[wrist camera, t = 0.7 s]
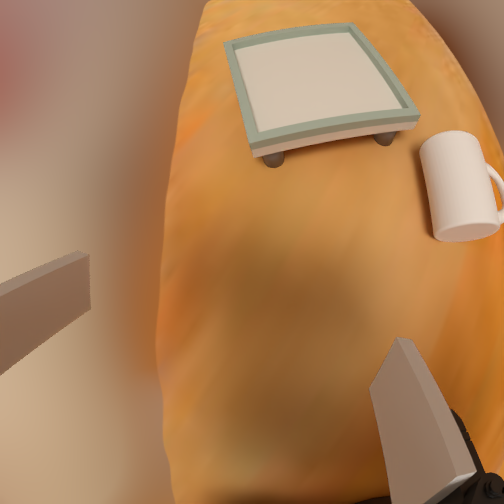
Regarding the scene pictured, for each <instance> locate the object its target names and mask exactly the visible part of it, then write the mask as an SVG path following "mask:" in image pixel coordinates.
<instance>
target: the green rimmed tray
mask: <svg viewBox="0 0 504 504" xmlns="http://www.w3.org/2000/svg"><path fill="white" fill-rule="evenodd" d="M223 44H224V48H225V51H226V55H227V59H228V63H229V66H230V70H231V74H232V78H233V82H234V86H235V90H236V93H237V97H238V101H239V105H240V109H241V113H242V117H243V121H244V125H245V129H246V133H247V138H248V142H249V145H250V148H251V151H252V154H253V156H254V158H256V157H260V156H263V160H264V163H265V164H266V165H267V166H268V167H271V168H276V167H279V166H281V165H282V164H283V162H284V153H283V151H285V150H289V149H294V148H299V147H303V146H308V145H313V144H318V143H323V142H328V141H334V140H339V139H345V138H351V137H357V136H363V135H370V134H374V139H375V141H376V142H377V143H378V144H380V145H382V146H389V145H390V144H391V143H392V141H393V139H394V136H395V134H396V132H397V131H400V130H409V129H414V127H415V125H416V123H417V121H418V119H419V117H420V115H421V114H420V113H419V111H418V109H417V108H416V106H415V104H414V103H413V101H412V100H411V98H410V96H409V95H408V93H407V92H406V90H405V89H404V87H403V86H402V84H401V83H400V81H399V80H398V78H397V77H396V75H395V74H394V73H393V71H392V70H391V69H390V67H389V66H388V64H387V63H386V62H385V60H384V59H383V58H382V57H381V55H380V54H379V53H378V51H377V50H376V49H375V48H374V46H373V45H372V44H371V43H370V42H369V40H368V39H367V38H366V37H365V36H364V35H363V33H362V32H361V31H360V30H359V29H358V28H357V27H356V26H355V24H354V23H333V24H321V25H311V26H302V27H295V28H288V29H282V30H276V31H270V32H265V33H260V34H256V35H251V36H247V37H242V38H238V39H234V40H231V41H227V42H223Z"/></svg>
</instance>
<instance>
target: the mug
mask: <svg viewBox="0 0 504 504" xmlns="http://www.w3.org/2000/svg"><path fill="white" fill-rule="evenodd" d="M419 155H420V159H421V164H422V168H423V173H424V178H425V182H426V188H427V193H428V199H429V205H430V211H431V218H432V226H433V234H434V237H435V238H436V239H437V240H439V241H444V242H464V241H471V240H477V239H481V238H484V237H487V236H490V235H492V234H494V233H495V232H497V231H498V230H499V228H500V224H502V223H504V182H503V180H502V179H501V177H500V176H499V174H498V173H497V172H496V171H495V170H494V169H493V168H492V167H491V166H490V165H489V164H487V163H485V160H484V156H483V153H482V150H481V147H480V144H479V142H478V140H477V138H476V137H475V136H473V135H472V134H470V133H468V132H464V131H446V132H442V133H439V134H436V135H434V136H432V137H430V138H429V139H427V140H426V141H425V142H424V143H423V144H422V146H421V148H420V151H419ZM490 177H491V178H492V179H493V181H494V182H495V184H496V186H497V188H498V190H499V193H500V197H501V201H502V209H501V210H500V211H497V206H496V202H495V197H494V193H493V189H492V185H491V181H490Z"/></svg>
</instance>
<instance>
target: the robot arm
mask: <svg viewBox="0 0 504 504" xmlns="http://www.w3.org/2000/svg"><path fill="white" fill-rule="evenodd" d="M89 277H90V275H89V254H86V253H83V252H80V251H75V252H73V253H70V254H68V255H65V256H63V257H61V258H58V259H56V260H53V261H51V262H49V263H46V264H44V265H41V266H39V267H37V268H34V269H32V270H30V271H28V272H25V273H23V274H21V275H19V276H16V277H14V278H12V279H10V280H8V281H6V282H4V283H1V284H0V375H2V374H3V373H4V372H5V371H7V370H8V369H9V368H11V367H12V366H13V365H14V364H16V363H17V362H18V361H20V360H21V359H22V358H24V357H25V356H26V355H28V354H29V353H30V352H31V351H33V350H34V349H36V348H37V347H38V346H39V345H41V344H42V343H44V342H45V341H46V340H48V339H49V338H50V337H52V336H53V335H54V334H56V333H57V332H59V331H60V330H61V329H63V328H64V327H66V326H67V325H68V324H70V323H71V322H73V321H74V320H76V319H77V318H79V317H80V316H81V315H83V314H84V313H85V312H87V311H89V310H90V309H91V304H90V278H89ZM369 391H370V395H371V399H372V403H373V408H374V412H375V416H376V421H377V425H378V430H379V434H380V439H381V444H382V449H383V454H384V459H385V465H386V470H387V476H388V482H389V488H390V495H391V497H381V498H375V499H370V500H366V501H363V502H359V503H356V504H504V481H503V479H502V478H501V477H500V476H499V475H497V474H495V473H485V471H484V469H483V466H482V464H481V461H480V459H479V457H478V454H477V452H476V450H475V447H474V445H473V443H472V441H470V439H471V438H470V436H469V434H468V432H466V428H465V426H464V424H463V422H462V419H461V418H460V417H459V416H458V415H457V414H456V413H455V412H454V411H453V409H451V410H450V409H449V407H448V405H447V403H446V401H445V399H444V397H443V395H442V393H441V391H440V389H439V387H438V385H437V383H436V382H435V380H434V378H433V376H432V374H431V372H430V371H429V369H428V367H427V365H426V363H425V362H424V360H423V358H422V356H421V355H420V353H419V351H418V349H417V348H416V346H415V344H414V343H413V341H412V340H411V339H406V338H400V337H396V338H395V340H394V342H393V345H392V347H391V349H390V351H389V353H388V354H387V356H386V358H385V360H384V362H383V364H382V366H381V368H380V370H379V371H378V373H377V375H376V377H375V379H374V380H373V382H372V384H371V386H370V387H369Z"/></svg>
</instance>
